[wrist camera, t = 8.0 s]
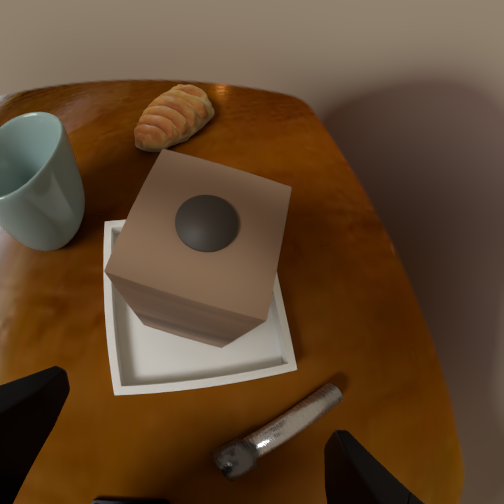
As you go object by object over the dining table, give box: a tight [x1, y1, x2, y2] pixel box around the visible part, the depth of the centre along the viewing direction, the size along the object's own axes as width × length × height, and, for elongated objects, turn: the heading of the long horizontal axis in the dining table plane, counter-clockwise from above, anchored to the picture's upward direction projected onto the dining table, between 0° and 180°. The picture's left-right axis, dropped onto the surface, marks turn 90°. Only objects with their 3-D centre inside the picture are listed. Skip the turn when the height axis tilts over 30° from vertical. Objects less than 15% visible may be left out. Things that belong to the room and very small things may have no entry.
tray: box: [104, 220, 297, 395], centre depth 21 cm, size 13×13×2 cm
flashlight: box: [209, 383, 343, 482], centre depth 18 cm, size 11×3×3 cm, turn 121°
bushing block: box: [104, 149, 292, 348], centre depth 16 cm, size 6×6×12 cm
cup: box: [0, 112, 85, 252], centre depth 17 cm, size 8×8×10 cm
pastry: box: [134, 84, 214, 152], centre depth 27 cm, size 9×7×4 cm
